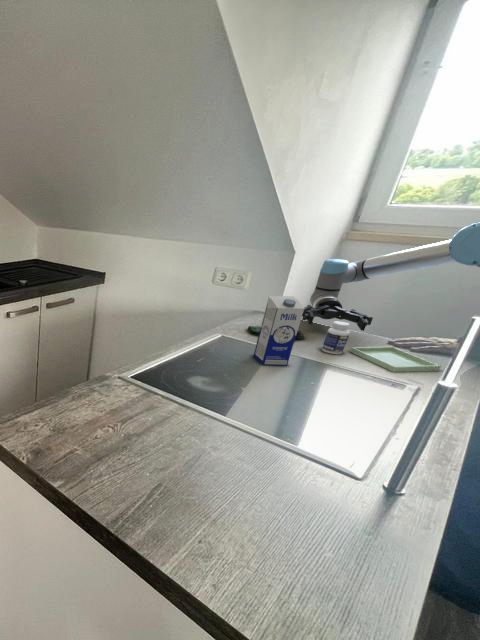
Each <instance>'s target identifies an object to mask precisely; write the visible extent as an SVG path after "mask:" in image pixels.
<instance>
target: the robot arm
mask: <svg viewBox="0 0 480 640" xmlns="http://www.w3.org/2000/svg"><path fill="white" fill-rule="evenodd" d="M455 263H458V264H461V265H465V266H471V267H472V266H473V267H474V266H476V267H478V268H480V221H478V222H475V223H472V224H470V225H466V226H465V227H463V228H461V229H460V230H459V231H458V232H456V233H455V234H454V235H453V236H452V238H451V239H448V240H444V241H440V242H436V243H435V242H434V243H431V244H426V245H422V246H418V247H414V248H409V249H405V250H401V251H397V252H392V253H387V254H384V255H379V256H375V257H371V258H367V259H362V260H357V261H353V262H349V261H348V260H346V259H340V258H328V259H325V260H324V261H323V263H322V265H321V267H320V271H319V275H318V278H317V281H316V285H315V288H314V291H313V292H312V294H311V295H310V301H309V302H310V304H308V305H306V306H303V307H304V308H305V309H304V311H303V314H302V317H301V321H307V323H308V325H313V321H314V319H315V318H316V317H317V318H320V319H323V320H333V319H337V320H339V321H340V320H344V321H349V322H352V323H355V324H356V326H357V327H358V329H359V330H360V331H362V332H363V331H365V330H366V327H367V326H370V325H371V324H372V323H373V322H372V321H373V320H374V317H373V316H371V315H368V314H365V313H362V312H360V311H357V310H356V309H354V308H353V309H350V310H349V311H348V310H347V309H344V308H343V305H342V303H341V302H340V300H339V299H338V298H339V294H340V291H341V289H342V286H343V285H344V284H348V283H356V282H363V281H364V280H365V281H366V280H370V279H376V278H380V277H385V276H392V275H396V274H402V273H406V272H413V271H417V270H424V269H428V268H434V267H438V266H444V265H449V264H455Z"/></svg>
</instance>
